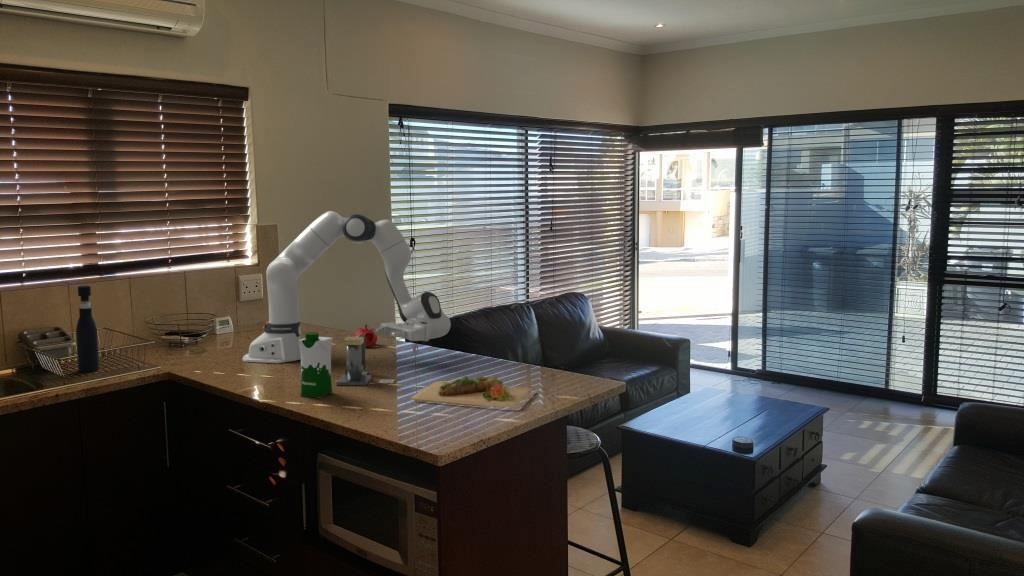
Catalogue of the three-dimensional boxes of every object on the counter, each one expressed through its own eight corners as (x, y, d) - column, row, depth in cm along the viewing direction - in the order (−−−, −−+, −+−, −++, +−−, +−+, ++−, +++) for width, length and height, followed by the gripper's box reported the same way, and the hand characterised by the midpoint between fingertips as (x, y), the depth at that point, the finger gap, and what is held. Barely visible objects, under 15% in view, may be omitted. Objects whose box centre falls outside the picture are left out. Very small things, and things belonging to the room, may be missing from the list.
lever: (360, 378, 251) (360, 339, 249) (344, 378, 251) (343, 339, 249) (369, 367, 266) (369, 331, 265) (354, 367, 266) (353, 331, 265)
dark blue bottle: (103, 369, 266) (98, 286, 262) (86, 373, 260) (81, 288, 257) (91, 367, 269) (86, 284, 265) (74, 371, 263) (69, 286, 259)
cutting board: (537, 394, 244) (537, 372, 243) (518, 414, 221) (518, 389, 221) (436, 385, 253) (436, 363, 252) (409, 403, 231) (409, 379, 230)
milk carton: (296, 396, 235) (295, 333, 232) (313, 389, 243) (312, 329, 241) (320, 399, 232) (319, 335, 230) (336, 392, 240) (335, 330, 238)
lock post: (336, 385, 249) (336, 347, 247) (347, 372, 267) (346, 336, 265) (392, 385, 249) (392, 347, 248) (398, 372, 268) (398, 337, 266)
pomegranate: (348, 347, 310) (348, 325, 309) (360, 343, 319) (360, 322, 318) (370, 349, 307) (370, 327, 306) (381, 345, 316) (381, 323, 315)
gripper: (397, 317, 290) (368, 320, 280) (432, 324, 276) (402, 328, 266) (397, 333, 291) (368, 337, 281) (431, 341, 277) (402, 346, 267)
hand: (384, 333), depth 273 cm, fingers open, 8 cm apart
